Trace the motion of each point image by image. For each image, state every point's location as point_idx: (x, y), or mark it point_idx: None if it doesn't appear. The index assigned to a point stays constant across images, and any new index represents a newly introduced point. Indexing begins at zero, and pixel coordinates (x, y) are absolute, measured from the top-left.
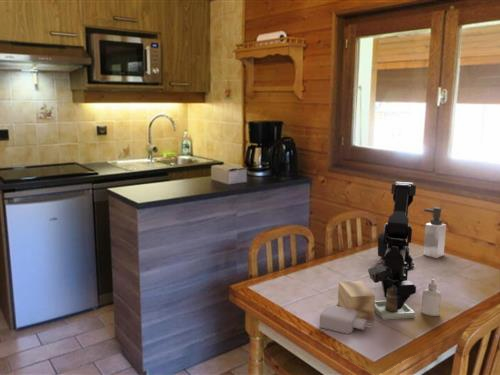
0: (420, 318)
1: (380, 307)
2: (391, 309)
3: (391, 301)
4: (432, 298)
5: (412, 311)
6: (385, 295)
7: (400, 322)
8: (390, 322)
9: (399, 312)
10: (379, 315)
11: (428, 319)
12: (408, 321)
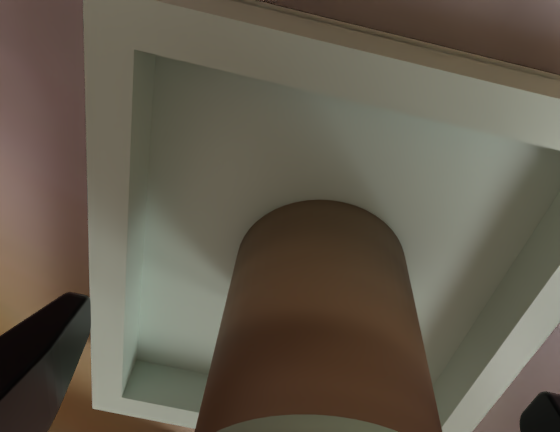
0: (91, 382)
1: (463, 189)
2: (247, 252)
3: (234, 357)
4: None
5: (119, 403)
6: (555, 419)
7: (13, 170)
8: (17, 37)
9: (120, 283)
10: (252, 1)
11: (64, 415)
12: (36, 263)
